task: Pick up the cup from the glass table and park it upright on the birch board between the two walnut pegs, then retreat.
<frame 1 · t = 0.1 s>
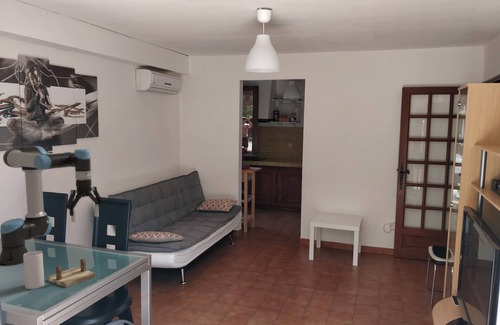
hand: (85, 219, 215), 28 cm above the table, fingers open, 13 cm apart
cup: (34, 286, 198), on the table
peg board: (71, 278, 207), on the table
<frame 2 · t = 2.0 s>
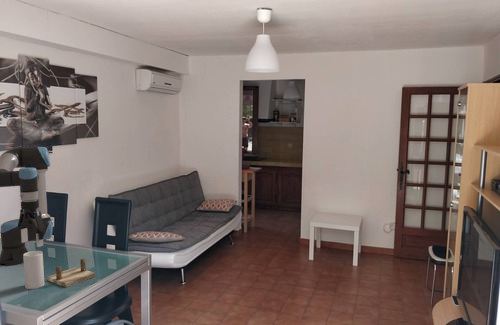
hand: (32, 244, 196), 21 cm above the table, fingers open, 13 cm apart
nothing on the table moved.
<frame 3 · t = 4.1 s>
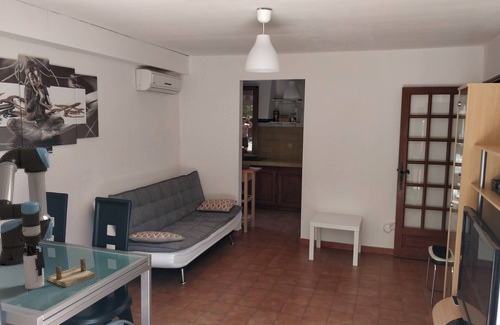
hand: (34, 280, 198), 3 cm above the table, fingers closed on cup, 8 cm apart
cup: (34, 286, 198), on the table, touching gripper
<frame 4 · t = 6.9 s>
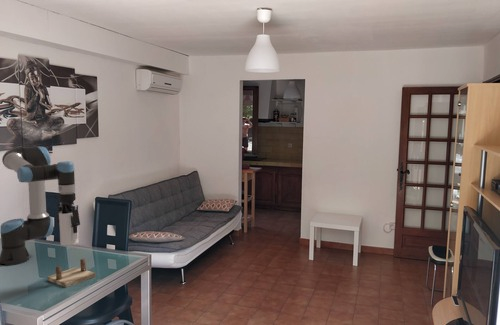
hand: (69, 237, 204), 21 cm above the table, fingers closed on cup, 8 cm apart
cup: (69, 243, 205), point 18 cm above the table, touching gripper
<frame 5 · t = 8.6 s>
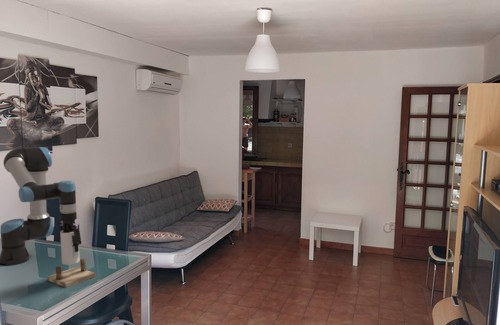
hand: (70, 256, 205), 12 cm above the table, fingers closed on cup, 8 cm apart
cup: (70, 262, 206), point 9 cm above the table, touching gripper
when the fingers open (6 cm above the table, at t = 10.1 s): cup drops 1 cm, resting on peg board.
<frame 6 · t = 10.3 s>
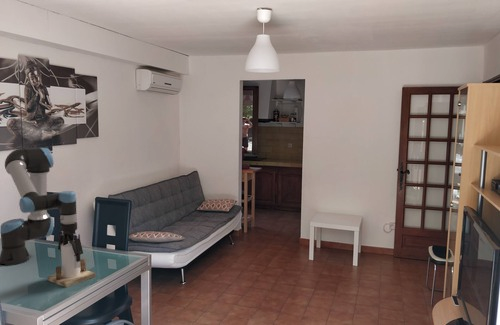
hand: (71, 265, 206), 7 cm above the table, fingers open, 10 cm apart
cup: (71, 275, 207), point 2 cm above the table, touching peg board
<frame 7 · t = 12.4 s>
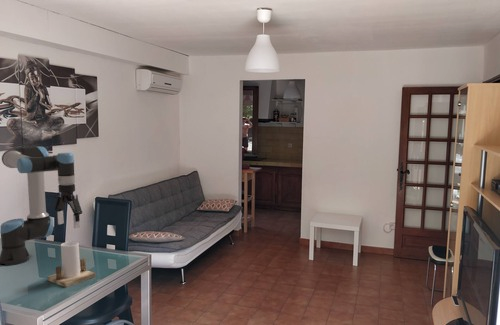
hand: (68, 225, 205), 27 cm above the table, fingers open, 13 cm apart
nothing on the table moved.
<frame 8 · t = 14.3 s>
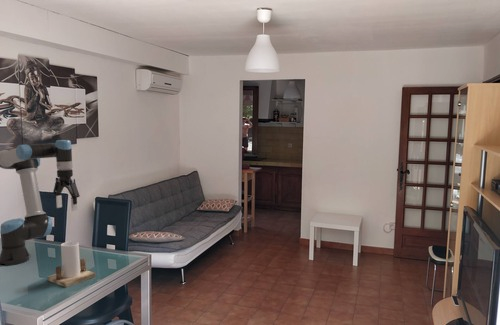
hand: (66, 208, 218), 33 cm above the table, fingers open, 13 cm apart
nothing on the table moved.
at the end: cup inside the target area on the peg board (0.1 cm from its centre), point 1.8 cm above the peg board's base; cup tilted 0°; the gripper is holding nothing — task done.
